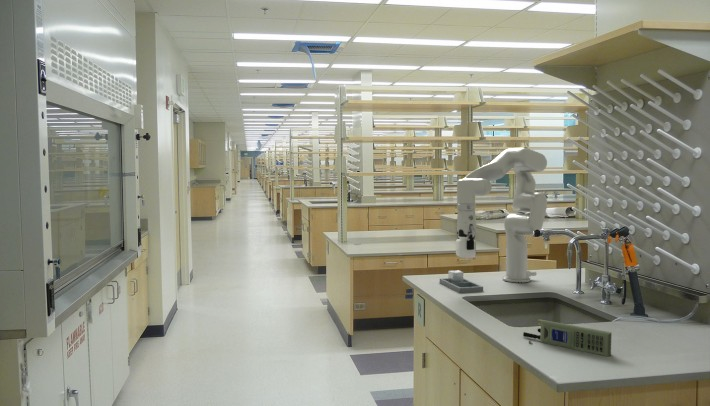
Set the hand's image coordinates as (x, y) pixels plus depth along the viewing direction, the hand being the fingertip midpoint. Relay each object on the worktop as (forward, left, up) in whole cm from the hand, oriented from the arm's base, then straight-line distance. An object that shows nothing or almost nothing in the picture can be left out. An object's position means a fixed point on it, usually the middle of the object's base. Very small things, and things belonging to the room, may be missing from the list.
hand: (465, 248), depth 225 cm
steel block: (0, -10, -18) cm, 21 cm away
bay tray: (0, -5, -19) cm, 19 cm away
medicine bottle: (0, 0, -4) cm, 4 cm away
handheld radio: (+4, +74, -19) cm, 77 cm away
